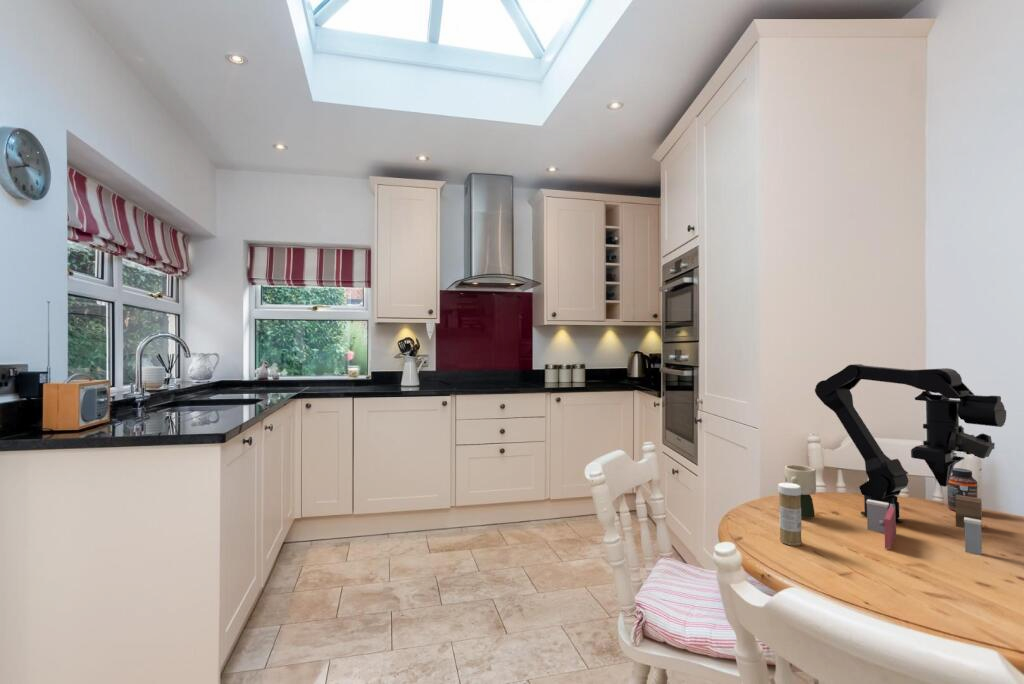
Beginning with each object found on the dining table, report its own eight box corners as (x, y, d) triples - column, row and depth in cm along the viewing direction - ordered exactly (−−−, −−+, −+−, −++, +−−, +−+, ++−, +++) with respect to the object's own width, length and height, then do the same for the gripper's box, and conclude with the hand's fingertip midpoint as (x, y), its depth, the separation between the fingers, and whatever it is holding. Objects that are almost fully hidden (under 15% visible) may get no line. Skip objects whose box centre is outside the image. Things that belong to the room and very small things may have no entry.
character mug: (794, 508, 130) (793, 462, 131) (823, 515, 125) (822, 466, 125) (778, 517, 123) (777, 468, 124) (808, 525, 118) (807, 474, 118)
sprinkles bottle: (789, 537, 110) (787, 481, 111) (807, 545, 106) (805, 486, 106) (774, 540, 109) (773, 483, 109) (792, 548, 104) (791, 488, 105)
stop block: (981, 531, 113) (980, 502, 113) (956, 526, 116) (955, 498, 116) (982, 526, 116) (981, 498, 116) (957, 521, 119) (956, 494, 119)
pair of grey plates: (866, 529, 115) (866, 500, 115) (868, 527, 116) (867, 498, 116) (982, 555, 100) (981, 522, 100) (982, 552, 101) (981, 519, 101)
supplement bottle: (972, 516, 123) (971, 473, 123) (943, 509, 128) (942, 468, 129) (981, 512, 126) (980, 470, 126) (953, 505, 131) (952, 465, 131)
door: (884, 532, 112) (884, 505, 112) (895, 534, 111) (894, 507, 111) (879, 546, 104) (878, 517, 104) (890, 549, 103) (890, 520, 103)
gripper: (974, 429, 99) (975, 502, 99) (1002, 421, 108) (1004, 488, 108) (909, 422, 109) (910, 488, 108) (940, 416, 118) (942, 477, 118)
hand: (943, 486), depth 110 cm, fingers closed
